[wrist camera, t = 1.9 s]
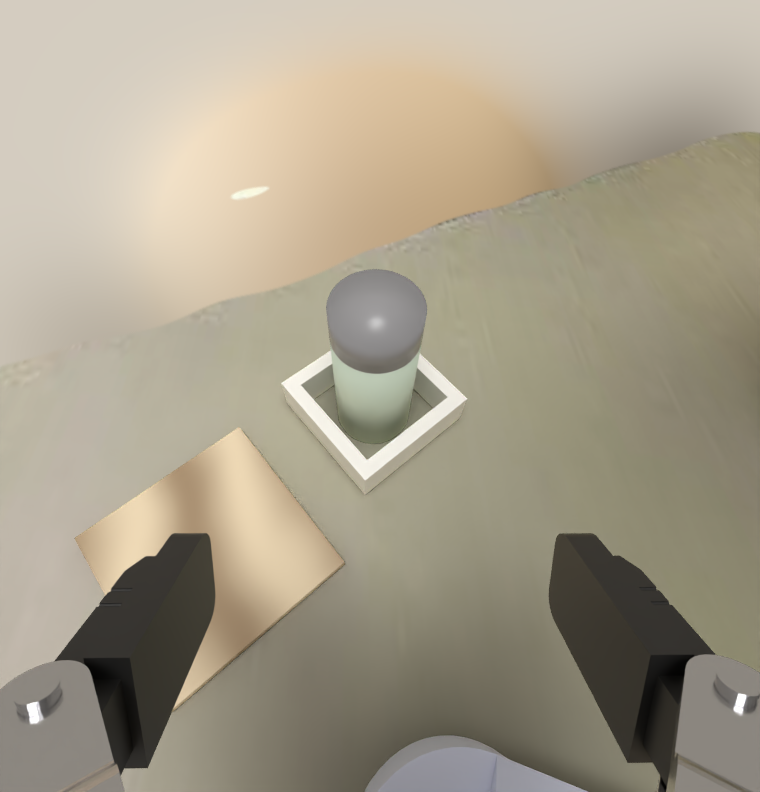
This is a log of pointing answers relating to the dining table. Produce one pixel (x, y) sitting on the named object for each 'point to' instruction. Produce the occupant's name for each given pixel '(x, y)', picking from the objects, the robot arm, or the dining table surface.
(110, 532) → the pad
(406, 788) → the wedge on round base
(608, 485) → the dining table surface
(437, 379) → the collar
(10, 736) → the robot arm
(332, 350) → the plug
